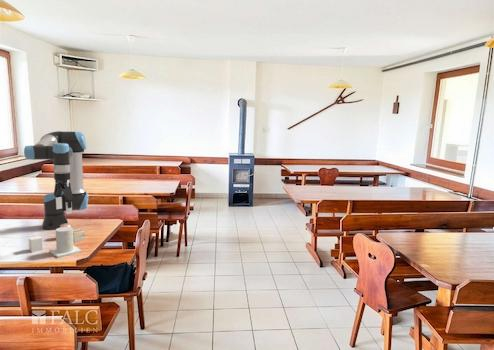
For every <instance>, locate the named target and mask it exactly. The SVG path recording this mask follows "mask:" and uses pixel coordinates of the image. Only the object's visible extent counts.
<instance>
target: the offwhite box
mask: <svg viewBox="0 0 494 350" xmlns="http://www.w3.org/2000/svg"><path fill="white" fill-rule="evenodd" d="M28 247H29V248H28V250H29V251H30V252H31V253H36V251H37V252H40V251H43V249H44V248H43V238H42V237H41V236H40V235H36V236H32V237H31V236H30V237H28Z"/></svg>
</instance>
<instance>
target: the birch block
mask: <svg viewBox="0 0 494 350" xmlns="http://www.w3.org/2000/svg"><path fill="white" fill-rule="evenodd" d="M85 233H86V232H85V230H84V229H82V228H77V229H73V243H74V244H75V243H80V242H84V241H86V236H85V235H86V234H85Z"/></svg>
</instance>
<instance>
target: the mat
mask: <svg viewBox="0 0 494 350" xmlns="http://www.w3.org/2000/svg"><path fill="white" fill-rule="evenodd" d="M48 251H49V253H50V254H51V255H53V256H54V257H55V258H57V259H60V258H63V257H68V256H71V255H75V254H79V253H82V251H83V250H82V249H81V248H79V247H78V246H75V245H74V250H73V251H70V252H67V253H58V252H57V247H56V248H53V249H49V250H48Z"/></svg>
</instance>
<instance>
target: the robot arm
mask: <svg viewBox="0 0 494 350" xmlns="http://www.w3.org/2000/svg"><path fill="white" fill-rule="evenodd" d="M85 136H86V135H85V133H84V132H82V131H61V130H59V131H58V130H57V131H51V132H49V133H45V134H44V135H42V136H41V138H40V139H39V141H38V142H37V143H36V144H34V145H26V146H24V148H23V149H24V150H23V152H24V153H23V154H24V157H25V159H26V160H33V161H36V160H39V161H40V160H41V161H42V160H43V161H44V160H52V161H53V166H52V169H53V172H54V173H53V180H54V191H53V192H50V193H46V194H45V195H44V196H43V210H44V218H43V221H42V224H41V225H42V229H43V230H56V229H58V228H60V225H61V224H65V223H69V221H68V218H67V216H66V215H70V214H73V211H83V210H84V211H85V210H86V209H87V208H88V203H89V192H87V190H86V189H85V188H84V175H83V174H84V173H83V154H84V153H85V150H87V141H86V137H85ZM65 214H66V215H65Z"/></svg>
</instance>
